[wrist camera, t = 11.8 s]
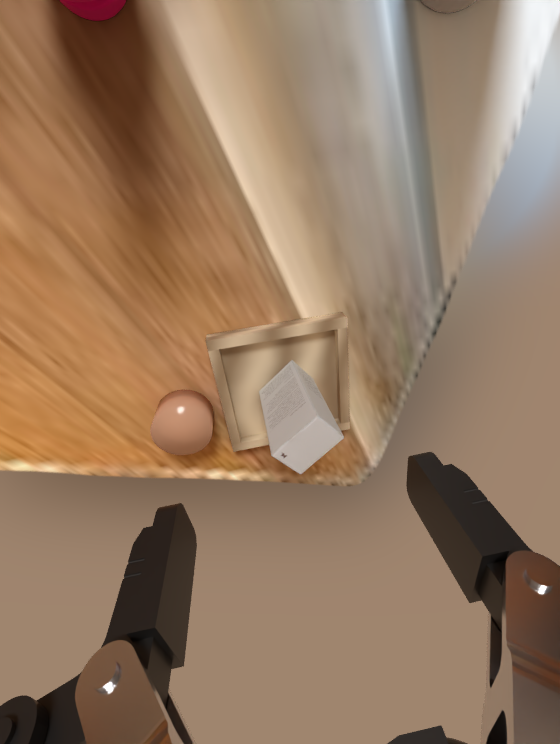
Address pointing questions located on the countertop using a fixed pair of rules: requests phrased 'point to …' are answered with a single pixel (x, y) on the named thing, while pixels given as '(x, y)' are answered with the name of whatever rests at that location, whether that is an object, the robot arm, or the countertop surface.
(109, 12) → the pepper mill
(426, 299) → the countertop surface
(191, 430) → the tan rounded blob
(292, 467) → the skincare box
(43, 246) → the countertop surface
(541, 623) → the robot arm
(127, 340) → the countertop surface
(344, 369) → the maple tray
